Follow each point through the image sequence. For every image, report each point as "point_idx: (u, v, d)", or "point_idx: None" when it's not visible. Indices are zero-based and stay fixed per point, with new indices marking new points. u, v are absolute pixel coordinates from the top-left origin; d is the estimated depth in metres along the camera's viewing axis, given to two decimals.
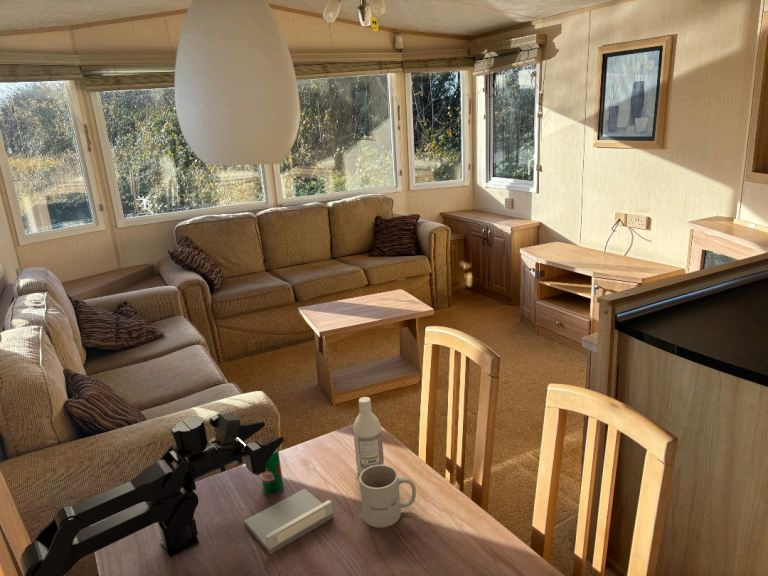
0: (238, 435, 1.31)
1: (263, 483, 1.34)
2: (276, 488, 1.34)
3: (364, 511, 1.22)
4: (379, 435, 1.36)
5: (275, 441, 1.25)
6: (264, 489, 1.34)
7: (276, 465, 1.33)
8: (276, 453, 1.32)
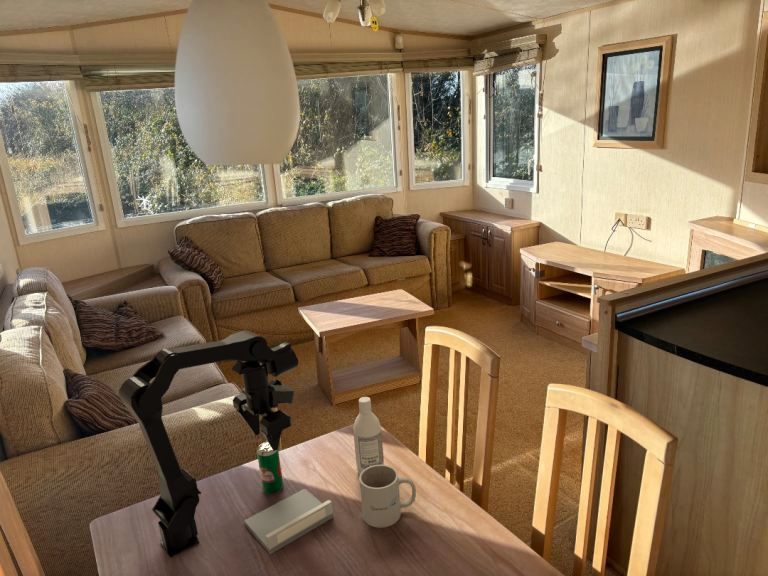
0: None
1: (263, 483, 1.34)
2: (276, 488, 1.34)
3: (364, 511, 1.22)
4: (379, 435, 1.36)
5: (278, 441, 1.28)
6: (264, 489, 1.34)
7: (276, 465, 1.33)
8: (276, 453, 1.32)
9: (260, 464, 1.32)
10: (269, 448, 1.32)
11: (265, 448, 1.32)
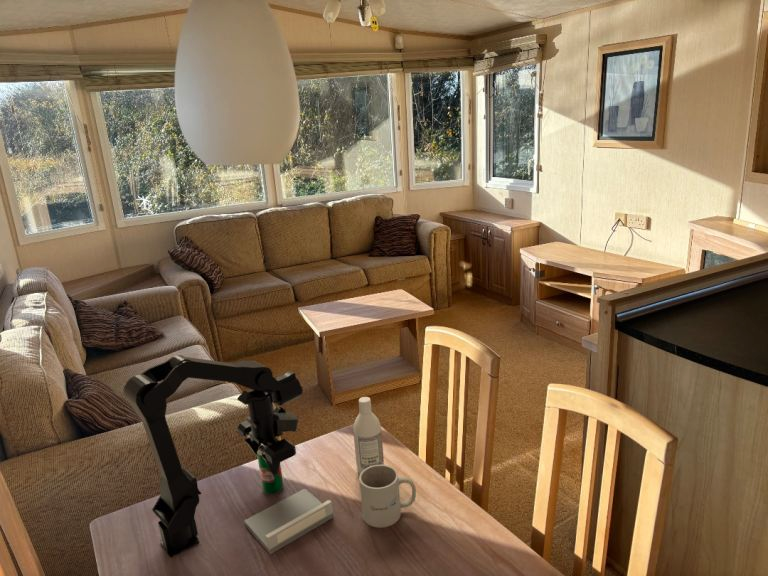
0: None
1: (263, 483, 1.34)
2: (276, 488, 1.34)
3: (364, 511, 1.22)
4: (379, 435, 1.36)
5: (278, 466, 1.32)
6: (264, 489, 1.34)
7: None
8: None
9: (260, 464, 1.32)
10: None
11: (265, 448, 1.32)
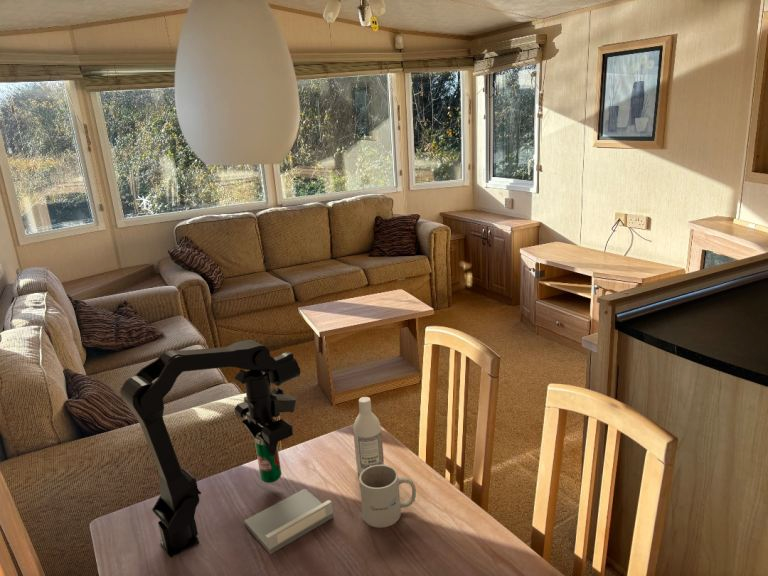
0: None
1: (260, 472, 1.33)
2: (273, 477, 1.33)
3: (364, 511, 1.22)
4: (379, 435, 1.36)
5: (275, 446, 1.30)
6: (261, 478, 1.34)
7: None
8: None
9: (257, 452, 1.31)
10: None
11: None
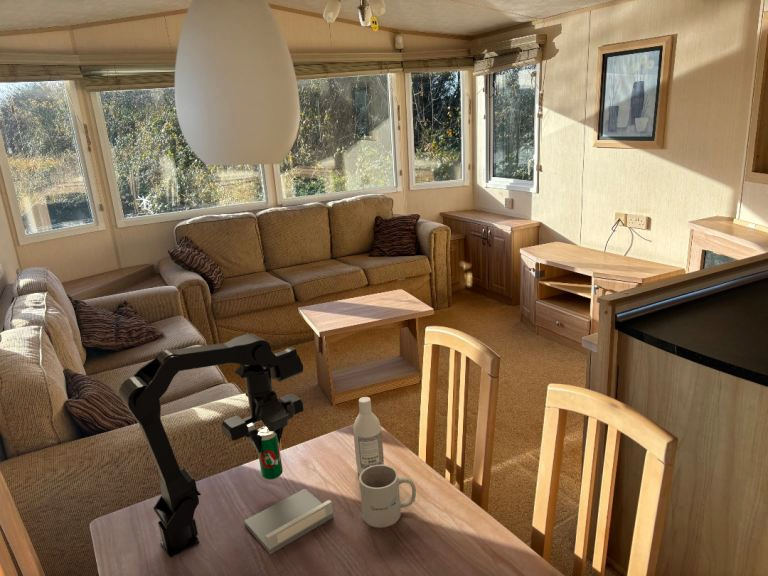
0: None
1: None
2: (261, 472, 1.32)
3: (364, 511, 1.22)
4: (379, 435, 1.36)
5: (255, 445, 1.28)
6: None
7: None
8: (259, 441, 1.28)
9: None
10: (261, 432, 1.29)
11: (263, 430, 1.30)
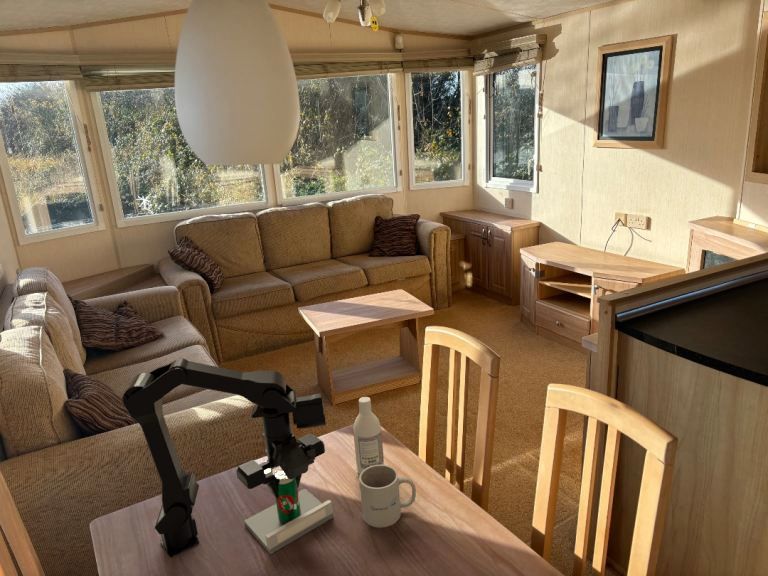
0: None
1: None
2: (278, 517, 1.22)
3: (364, 511, 1.22)
4: (379, 435, 1.36)
5: (273, 492, 1.19)
6: None
7: None
8: (276, 484, 1.19)
9: None
10: (278, 475, 1.20)
11: (281, 473, 1.21)
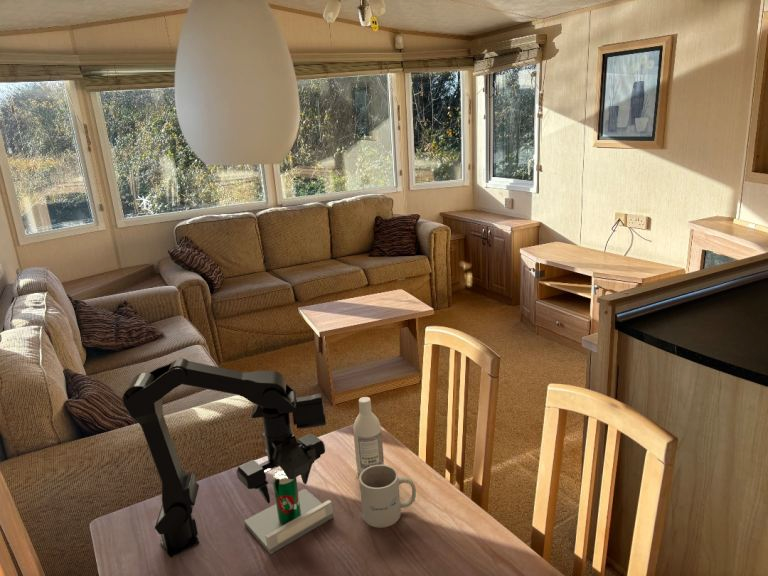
0: None
1: None
2: (278, 517, 1.22)
3: (364, 511, 1.22)
4: (379, 435, 1.36)
5: (264, 496, 1.17)
6: None
7: (276, 496, 1.20)
8: (276, 484, 1.19)
9: None
10: (278, 475, 1.20)
11: (281, 473, 1.21)
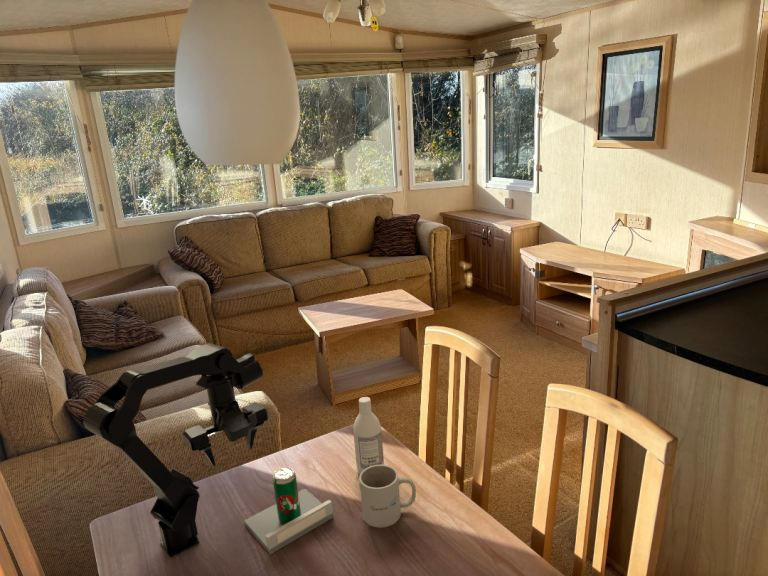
0: None
1: None
2: (278, 517, 1.22)
3: (364, 511, 1.22)
4: (379, 435, 1.36)
5: (209, 459, 1.25)
6: None
7: (276, 496, 1.20)
8: (276, 484, 1.19)
9: None
10: (278, 475, 1.20)
11: (281, 473, 1.21)
